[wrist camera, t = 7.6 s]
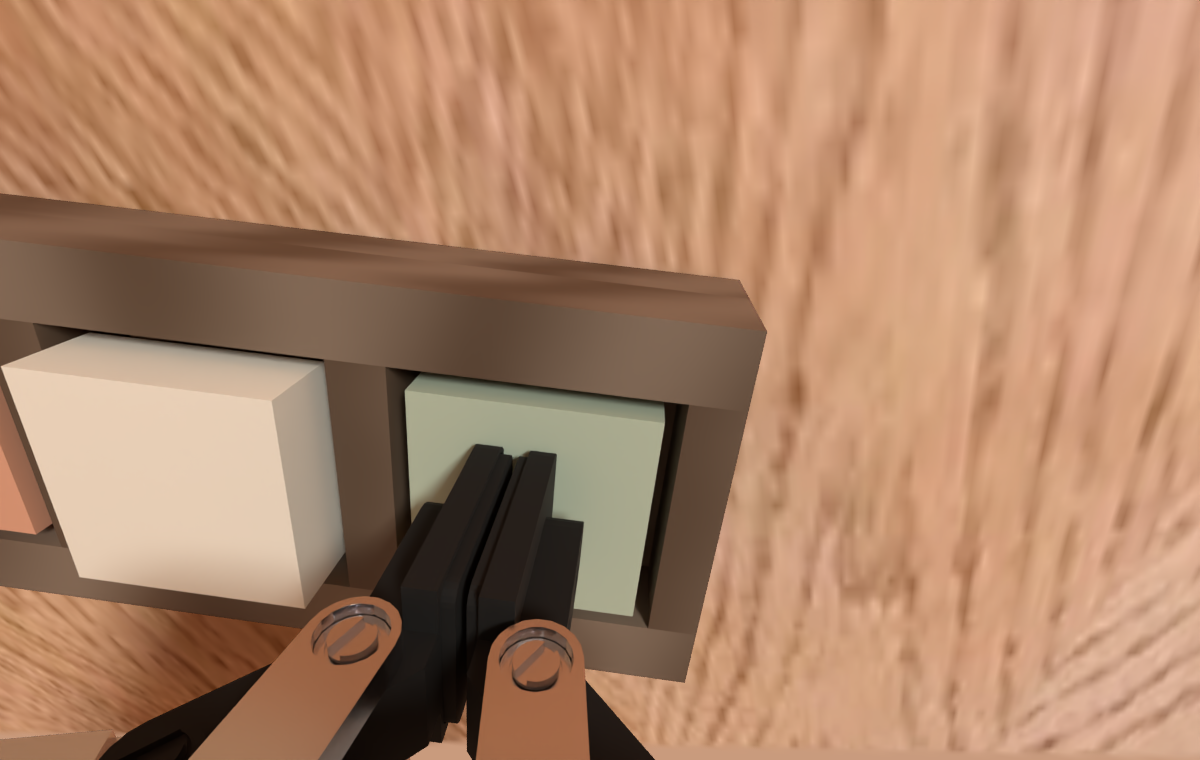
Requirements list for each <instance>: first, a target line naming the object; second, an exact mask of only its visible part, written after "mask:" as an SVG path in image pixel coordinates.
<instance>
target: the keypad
mask: <svg viewBox="0 0 1200 760" xmlns="http://www.w3.org/2000/svg"><path fill="white" fill-rule="evenodd" d="M89 332H91V333H99V334H107V335H115V336H123V337H131V338H139V339H147V340H155V341H163V342H171V343H179V344H187V345H195V346H203V347H211V348H219V349H227V350H235V351H243V352H251V353H259V354H267V355H275V356H283V357H291V358H299V359H307V360H315V361H323V362H324V367H325V376H326V385H327V393H328V402H329V411H330V420H331V428H332V437H333V446H334V455H335V463H336V472H337V481H338V490H339V498H340V507H341V516H342V525H343V533H344V542H345V551H346V552H345V553H344V554H343V556H342V557H341V559H340V560H339V561H338V563H337V564H336V566H335V567H334V569H333V570H332V571H331V573H330V574H329V576H328V577H327V578H326V580H325V581H324V583H323V584H322V586H321V587H320V588H319V590H318V591H317V593H316V594H315V595H314V597H313V598H312V600H311V601H310V603H309V604H308V605H307V607H306V608H305V609H303V608H296V607H289V606H282V605H275V604H268V603H260V602H253V601H246V600H239V599H232V598H225V597H218V596H210V595H203V594H196V593H189V592H182V591H175V590H168V589H161V588H153V587H146V586H139V585H132V584H125V583H118V582H111V581H103V580H96V579H89V578H82V577H79V574H78V571H77V569H76V566H75V563H74V561H73V558H72V555H71V553H70V550H69V547H68V545H67V542H66V539H65V536H64V534H63V531H62V528H61V526H60V523H59V520H58V518H57V515H56V512H55V510H54V507H53V504H52V502H51V499H50V496H49V494H48V491H47V488H46V486H45V483H44V480H43V478H42V475H41V472H40V470H39V467H38V464H37V462H36V459H35V456H34V454H33V451H32V448H31V446H30V443H29V440H28V438H27V435H26V432H25V430H24V427H23V424H22V422H21V419H20V416H19V414H18V411H17V408H16V406H15V403H14V400H13V398H12V395H11V392H10V390H9V387H8V384H7V382H6V379H5V376H4V374H3V371H2V368H1V366H3V365H5V364H8V363H11V362H13V361H16V360H19V359H21V358H24V357H26V356H29V355H32V354H34V353H37V352H40V351H42V350H45V349H47V348H50V347H53V346H55V345H58V344H61V343H63V342H66V341H68V340H71V339H74V338H76V337H79V336H82V335H84V334H87V333H89ZM766 334H767V330H766V329H765V327H764V325H763V323H762V321H761V319H760V317H759V316H758V314H757V312H756V310H755V308H754V306H753V304H752V303H751V301H750V299H749V297H748V295H747V293H746V291H745V290H744V288H743V286H742V284H741V282H740V280H734V279H725V278H717V277H708V276H699V275H691V274H682V273H674V272H665V271H657V270H648V269H640V268H631V267H623V266H614V265H606V264H597V263H589V262H580V261H572V260H563V259H554V258H546V257H537V256H529V255H520V254H512V253H503V252H495V251H486V250H478V249H469V248H461V247H452V246H444V245H435V244H427V243H418V242H409V241H401V240H392V239H384V238H375V237H367V236H358V235H350V234H341V233H333V232H324V231H316V230H307V229H299V228H290V227H281V226H273V225H264V224H256V223H247V222H239V221H230V220H222V219H213V218H205V217H196V216H188V215H179V214H171V213H162V212H154V211H145V210H136V209H128V208H119V207H111V206H102V205H94V204H85V203H77V202H68V201H60V200H51V199H43V198H34V197H26V196H17V195H8V194H0V387H1V389H2V392H3V395H4V397H5V400H6V403H7V405H8V408H9V410H10V413H11V416H12V418H13V421H14V424H15V426H16V429H17V431H18V434H19V437H20V439H21V442H22V445H23V447H24V450H25V452H26V455H27V458H28V460H29V463H30V466H31V468H32V471H33V473H34V476H35V479H36V481H37V484H38V487H39V489H40V492H41V494H42V497H43V500H44V502H45V505H46V508H47V510H48V513H49V515H50V518H51V521H52V524H51V525H49V526H48V527H46V528H45V529H43V530H42V531H41V532H39V533H38V534H29V533H22V532H14V531H7V530H0V586H4V587H11V588H18V589H25V590H32V591H40V592H47V593H54V594H61V595H68V596H75V597H82V598H89V599H96V600H103V601H110V602H117V603H124V604H132V605H139V606H146V607H153V608H160V609H167V610H174V611H181V612H188V613H195V614H202V615H209V616H216V617H224V618H231V619H238V620H245V621H252V622H259V623H266V624H273V625H280V626H287V627H294V628H301V629H303V628H304V627H305V626H306V625H307V623H308V622H309V621H310V620H311V619H312V618H314V617H315V616H316V615H317V614H318V613H319V612H320V611H321V610H323V609H325V608H327V607H328V606H330V605H332V604H334V603H336V602H339V601H342V600H345V599H348V598H353V597H362V596H368V597H370V595H371V593H372V591H373V590H374V588H375V586H376V585H377V583H378V581H379V579H380V578H381V576H382V574H383V572H384V571H385V569H386V567H387V566H388V564H389V562H390V560H391V559H392V557H393V555H394V553H395V552H396V550H397V548H398V547H399V545H400V543H401V541H402V540H403V538H404V536H405V534H406V533H407V531H408V529H409V528H410V526H411V524H412V523H411V503H410V483H409V464H408V444H407V424H406V404H405V390H406V389H407V387H408V386H409V385H410V384H411V383H412V382H413V381H414V380H415V379H416V377H417V376H418V375H419V374H420V373H421V372H430V373H438V374H446V375H454V376H462V377H470V378H478V379H486V380H494V381H502V382H511V383H519V384H527V385H535V386H543V387H551V388H559V389H567V390H575V391H583V392H591V393H599V394H607V395H615V396H623V397H631V398H639V399H647V400H655V401H663V402H664V413H665V426H664V432H663V438H662V444H661V450H660V456H659V462H658V468H657V474H656V480H655V486H654V492H653V498H652V504H651V510H650V516H649V522H648V528H647V534H646V540H645V546H644V552H643V558H642V564H641V570H640V576H639V582H638V588H637V594H636V600H635V606H634V612H633V617H632V616H625V615H618V614H610V613H603V612H596V611H589V610H581V609H574V608H573V615H572V622H571V628H570V632H572V633H573V634H574V635H575V637H576V638H577V640H578V641H579V643H580V644H581V647H582V651H583V655H584V665H585V669H592V670H599V671H606V672H613V673H620V674H627V675H634V676H641V677H648V678H655V679H662V680H669V681H676V682H684V683H685V679H686V675H687V671H688V666H689V662H690V658H691V654H692V649H693V645H694V641H695V637H696V632H697V628H698V624H699V620H700V615H701V611H702V607H703V603H704V598H705V594H706V590H707V586H708V581H709V577H710V573H711V569H712V564H713V560H714V556H715V552H716V547H717V543H718V539H719V534H720V530H721V526H722V522H723V517H724V513H725V509H726V505H727V500H728V496H729V492H730V488H731V483H732V479H733V475H734V471H735V466H736V462H737V458H738V454H739V449H740V445H741V441H742V437H743V432H744V428H745V424H746V419H747V415H748V411H749V407H750V402H751V398H752V394H753V390H754V385H755V381H756V377H757V373H758V368H759V364H760V360H761V356H762V351H763V347H764V343H765V339H766Z"/></svg>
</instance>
